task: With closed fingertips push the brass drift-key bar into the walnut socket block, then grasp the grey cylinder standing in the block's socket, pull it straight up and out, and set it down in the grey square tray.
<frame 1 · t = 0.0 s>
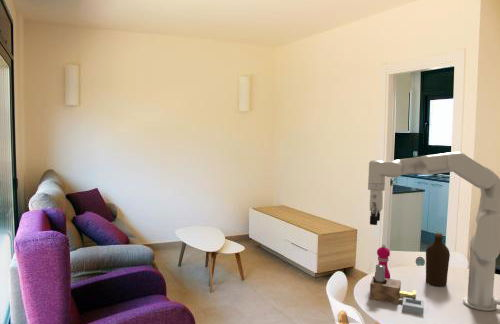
hand: (374, 222, 191), 31 cm above the table, fingers open, 9 cm apart
pepper mill: (382, 285, 196), on the table
drift key: (407, 295, 178), point 2 cm above the table, slide at 0.0 cm
olive oil: (436, 283, 199), on the table
grey square tray: (413, 308, 170), on the table
socket block: (385, 297, 182), on the table
grey cylinder: (379, 296, 183), resting in socket block
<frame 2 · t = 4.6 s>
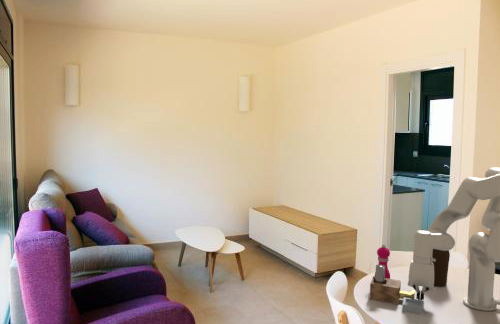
hand: (419, 300, 175), 1 cm above the table, fingers closed
drift key: (405, 295, 178), point 3 cm above the table, slide at 0.6 cm, touching gripper
everything else where it was.
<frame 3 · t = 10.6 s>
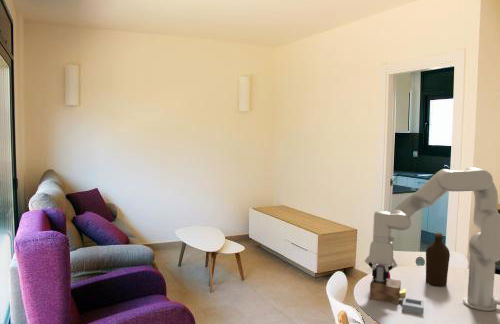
hand: (380, 278, 182), 8 cm above the table, fingers closed on grey cylinder, 4 cm apart
drift key: (396, 293, 179), point 3 cm above the table, slide at 4.3 cm
grey cylinder: (379, 296, 183), resting in socket block, touching gripper
everything else where it was.
when the fingers open (11 cm above the table, at t = 15.4 s): grey cylinder drops 1 cm, resting on grey square tray.
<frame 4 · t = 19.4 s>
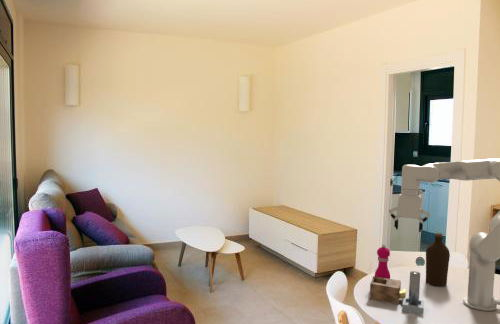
hand: (408, 230, 181), 30 cm above the table, fingers open, 9 cm apart
grey cylinder: (413, 305, 170), point 2 cm above the table, touching grey square tray
everything else where it was.
at the end: grey cylinder 0.1 cm off-centre on the grey square tray, point 1.5 cm above the grey square tray's base; grey cylinder tilted 0°; drift key slide at 4.3 cm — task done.
